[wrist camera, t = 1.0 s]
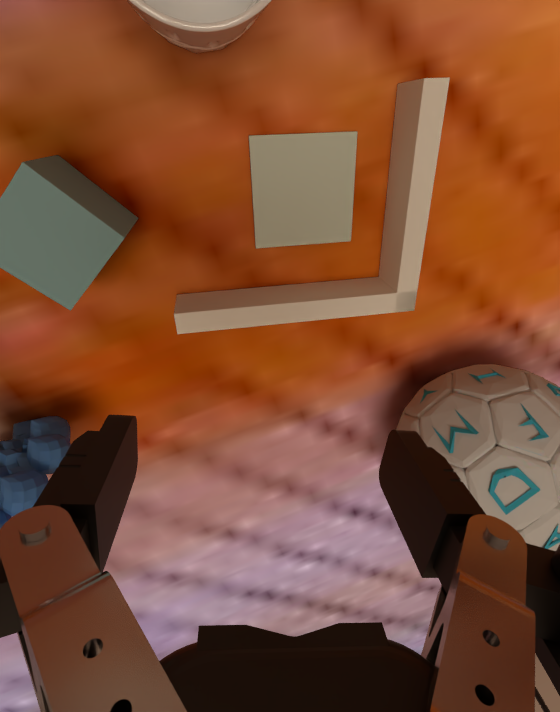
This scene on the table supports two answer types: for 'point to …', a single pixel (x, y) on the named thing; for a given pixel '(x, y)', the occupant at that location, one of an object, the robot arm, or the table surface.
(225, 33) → the white cup
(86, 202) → the teal block
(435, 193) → the table surface
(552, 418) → the puzzle ball
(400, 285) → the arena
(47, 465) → the grapes
